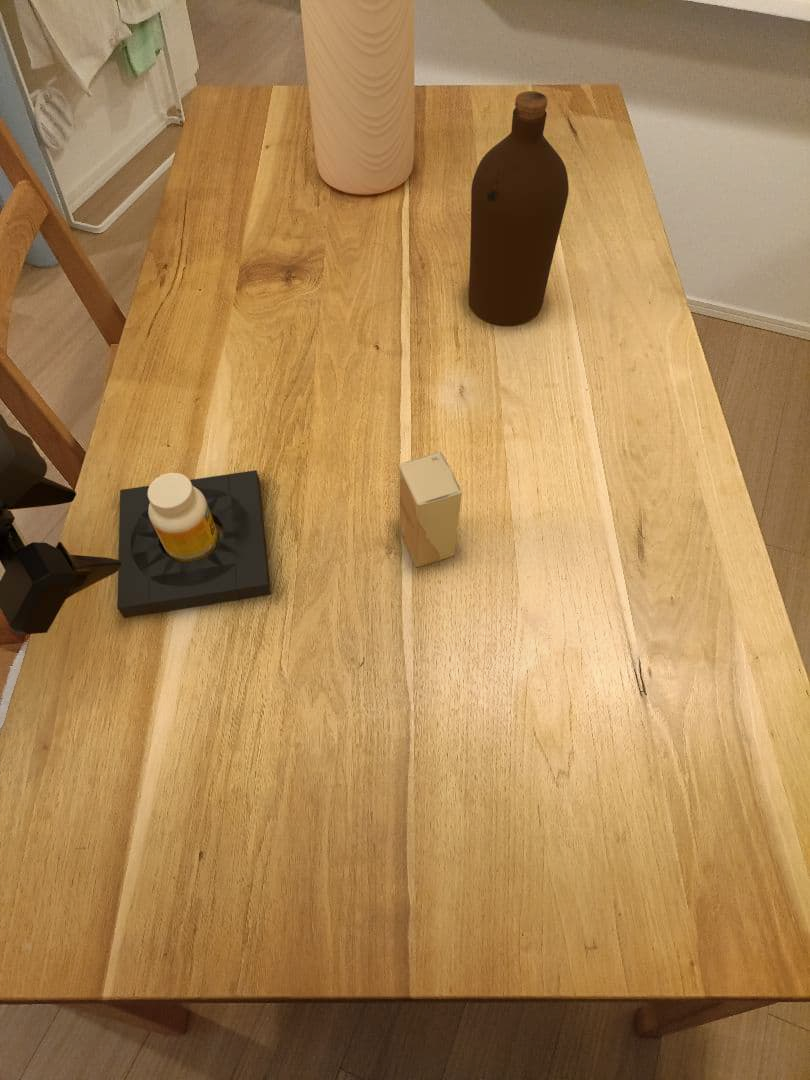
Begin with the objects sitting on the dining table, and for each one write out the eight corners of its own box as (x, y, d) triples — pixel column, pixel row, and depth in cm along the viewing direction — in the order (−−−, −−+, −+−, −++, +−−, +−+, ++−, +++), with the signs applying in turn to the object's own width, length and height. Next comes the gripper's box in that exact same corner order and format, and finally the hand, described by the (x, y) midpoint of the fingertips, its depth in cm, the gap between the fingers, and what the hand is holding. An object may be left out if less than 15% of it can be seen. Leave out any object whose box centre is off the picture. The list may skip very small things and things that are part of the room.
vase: (413, 199, 109) (414, -69, 83) (312, 198, 109) (282, -70, 83) (415, 144, 117) (417, -118, 91) (321, 143, 117) (296, -119, 91)
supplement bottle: (159, 538, 78) (130, 481, 70) (208, 516, 79) (185, 457, 71) (179, 578, 75) (151, 522, 67) (229, 553, 77) (208, 497, 69)
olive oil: (541, 336, 94) (580, 133, 73) (456, 323, 95) (469, 120, 74) (551, 280, 99) (590, 77, 79) (471, 269, 101) (487, 66, 80)
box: (398, 529, 78) (396, 460, 69) (437, 517, 79) (441, 447, 70) (416, 570, 76) (417, 505, 66) (457, 557, 76) (463, 490, 67)
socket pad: (123, 618, 73) (117, 608, 71) (125, 501, 80) (119, 489, 79) (271, 594, 74) (267, 584, 73) (259, 481, 82) (256, 469, 80)
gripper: (-13, 520, 47) (189, 531, 60) (-107, 351, 55) (89, 392, 68) (-75, 646, 51) (127, 631, 64) (-154, 471, 59) (39, 489, 72)
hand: (95, 530), depth 67 cm, fingers open, 9 cm apart
